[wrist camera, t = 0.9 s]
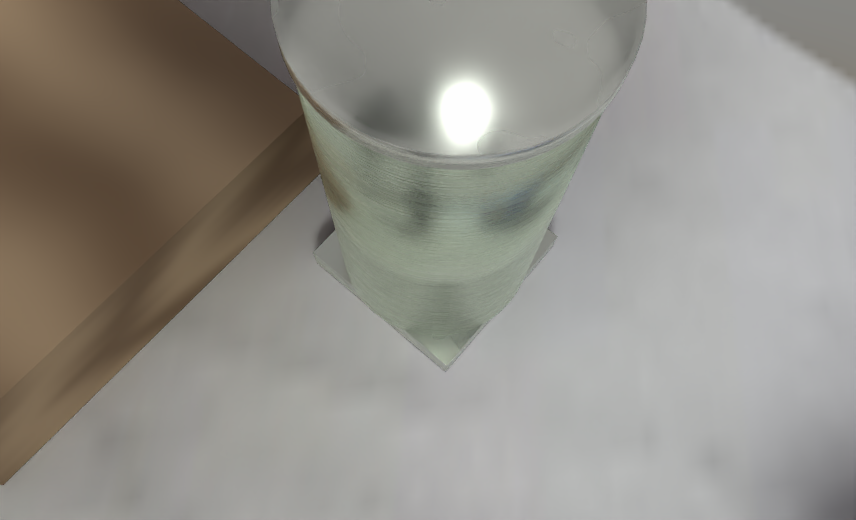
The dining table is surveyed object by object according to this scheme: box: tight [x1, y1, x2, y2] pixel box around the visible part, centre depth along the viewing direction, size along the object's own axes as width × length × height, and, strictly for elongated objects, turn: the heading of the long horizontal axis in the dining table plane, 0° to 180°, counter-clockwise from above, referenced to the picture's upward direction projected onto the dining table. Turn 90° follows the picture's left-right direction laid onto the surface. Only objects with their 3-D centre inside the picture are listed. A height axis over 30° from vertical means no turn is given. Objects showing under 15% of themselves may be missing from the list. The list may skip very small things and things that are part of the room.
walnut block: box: [0, 0, 320, 485], centre depth 23 cm, size 14×14×4 cm
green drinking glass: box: [270, 0, 647, 372], centre depth 18 cm, size 6×6×13 cm
